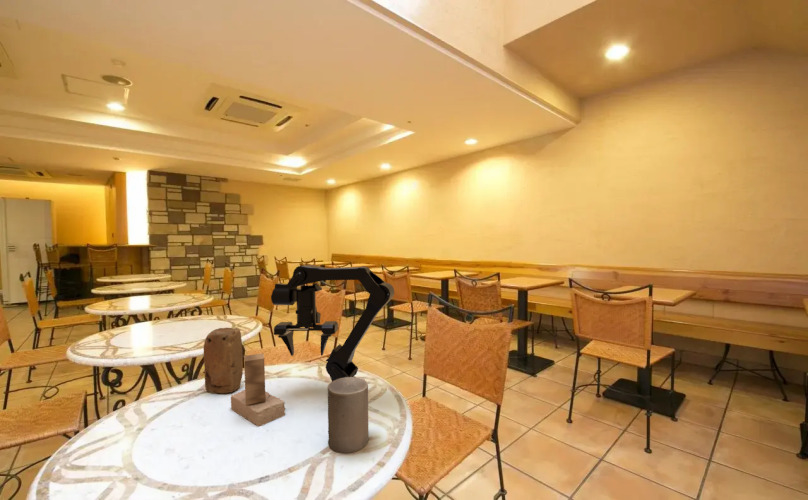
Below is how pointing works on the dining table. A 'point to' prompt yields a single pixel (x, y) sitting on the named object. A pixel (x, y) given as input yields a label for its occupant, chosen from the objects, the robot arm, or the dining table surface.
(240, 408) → the brick
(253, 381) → the walnut block
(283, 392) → the dining table surface
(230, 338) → the block
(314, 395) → the dining table surface
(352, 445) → the pillar candle
